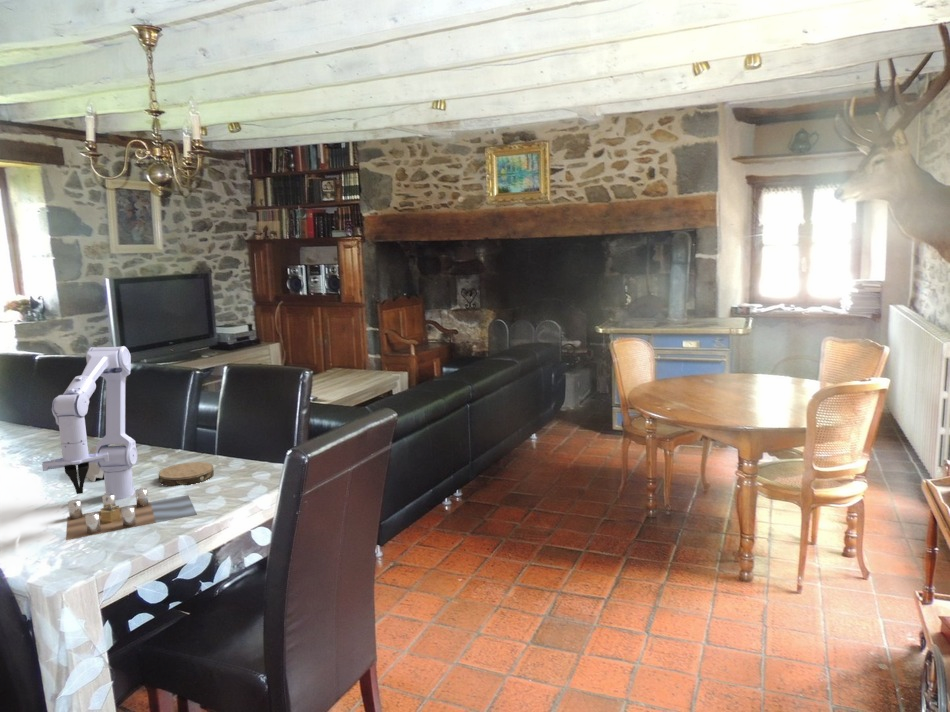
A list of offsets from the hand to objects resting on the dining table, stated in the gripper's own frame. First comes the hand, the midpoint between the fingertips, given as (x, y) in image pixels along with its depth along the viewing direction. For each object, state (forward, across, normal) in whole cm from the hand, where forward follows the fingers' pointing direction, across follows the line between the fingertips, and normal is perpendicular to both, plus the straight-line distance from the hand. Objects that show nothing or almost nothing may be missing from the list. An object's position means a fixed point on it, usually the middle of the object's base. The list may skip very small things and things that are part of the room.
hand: (79, 492), depth 174 cm
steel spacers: (+9, +6, 0) cm, 11 cm away
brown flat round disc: (+10, +29, +29) cm, 42 cm away
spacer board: (+9, +11, 0) cm, 15 cm away
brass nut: (+9, +6, 0) cm, 11 cm away
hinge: (+10, +5, +50) cm, 51 cm away
